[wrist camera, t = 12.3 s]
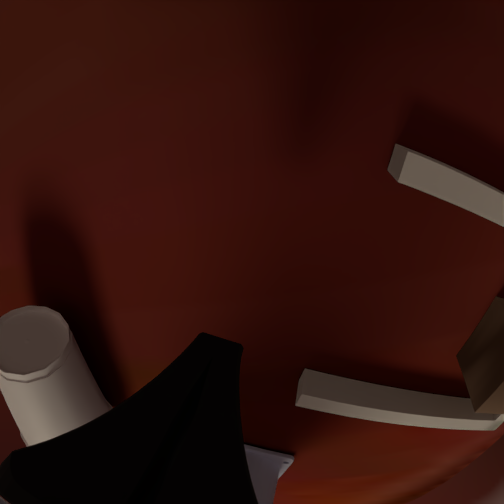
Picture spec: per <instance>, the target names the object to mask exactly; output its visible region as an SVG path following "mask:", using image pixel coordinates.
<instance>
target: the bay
mask: <svg viewBox="0 0 504 504" xmlns="http://www.w3.org/2000/svg"><path fill="white" fill-rule="evenodd" d="M387 170H388V172H389V173H390V174H391V175H392V176H393V177H394V178H395V179H396V181H397V182H399V183H402V184H404V185H407V186H410V187H412V188H415V189H418V190H420V191H423V192H425V193H428V194H430V195H433V196H435V197H438V198H440V199H443V200H445V201H448V202H450V203H452V204H455V205H457V206H459V207H462V208H464V209H466V210H468V211H471V212H473V213H475V214H477V215H480V216H482V217H484V218H486V219H488V220H490V221H492V222H495V223H497V224H499V225H501V226H503V227H504V192H502V191H500V190H498V189H497V188H495V187H493V186H491V185H489V184H487V183H485V182H483V181H481V180H479V179H477V178H475V177H473V176H471V175H469V174H467V173H465V172H462V171H460V170H458V169H456V168H454V167H452V166H449V165H447V164H445V163H443V162H440V161H438V160H436V159H433V158H431V157H429V156H426V155H424V154H421V153H419V152H416V151H414V150H411V149H409V148H406V147H404V146H401V145H398V144H395V147H394V151H393V154H392V157H391V160H390V163H389V166H388V169H387ZM295 406H299V407H304V408H308V409H313V410H317V411H322V412H327V413H332V414H337V415H342V416H348V417H354V418H360V419H366V420H372V421H379V422H386V423H393V424H401V425H410V426H420V427H431V428H444V429H461V430H495V429H496V428H498V427H499V426H500V425H501V424H502V423H503V422H504V414H489V413H475V412H474V409H473V405H472V402H471V399H469V398H460V397H452V396H444V395H437V394H430V393H424V392H417V391H411V390H405V389H399V388H394V387H388V386H383V385H378V384H372V383H367V382H362V381H358V380H353V379H348V378H344V377H339V376H335V375H330V374H326V373H322V372H318V371H314V370H309V369H304V371H303V373H302V375H301V377H300V379H299V383H298V390H297V397H296V404H295Z"/></svg>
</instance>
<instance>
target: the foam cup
mask: <svg viewBox="0 0 504 504" xmlns="http://www.w3.org/2000/svg"><path fill="white" fill-rule="evenodd" d="M0 389H1V391H2V394H3V396H4V398H5V401H6V403H7V405H8V407H9V409H10V411H11V413H12V416H13V418H14V420H15V422H16V424H17V426H18V427H19V429H20V432H21V437H22V439H23V441H24V442H25V444H26V446H27V447H28V446H31V445H35V444H38V443H41V442H44V441H47V440H50V439H52V438H55V437H57V436H59V435H62V434H64V433H67V432H69V431H71V430H73V429H76V428H78V427H80V426H82V425H84V424H86V423H88V422H90V421H92V420H94V419H95V418H97V417H99V416H101V415H103V414H104V413H106V412H108V411H109V410H111V409H113V408H112V406H111V405H110V404H109V402H108V401H107V400H106V399H105V397H104V396H103V394H102V392H101V390H100V388H99V386H98V385H97V383H96V381H95V379H94V377H93V375H92V373H91V371H90V369H89V367H88V365H87V363H86V361H85V359H84V357H83V355H82V353H81V351H80V349H79V347H78V345H77V342H76V340H75V338H74V336H73V334H72V331H71V330H70V329H69V325H68V324H67V322H66V321H65V320H64V318H63V317H62V315H61V314H60V313H58V312H56V311H54V310H52V309H50V308H48V307H44V306H26V307H22V308H18V309H14V310H11V311H10V312H8V313H7V314H5V315H4V316H2V317H1V318H0Z"/></svg>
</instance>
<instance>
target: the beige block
mask: <svg viewBox="0 0 504 504" xmlns="http://www.w3.org/2000/svg"><path fill="white" fill-rule="evenodd" d="M457 359H458V362H459V365H460V368H461V371H462V373H463V376H464V379H465V383H466V386H467V389H468V392H469V395H470V399H471V402H472V405H473V409H474V412H475V413H489V414H504V299H503V298H500V297H497V296H496V297H495V299H494V300H493V302H492V304H491V305H490V307H489V309H488V310H487V312H486V313H485V315H484V317H483V318H482V320H481V321H480V323H479V324H478V326H477V327H476V329H475V330H474V332H473V333H472V335H471V336H470V337H469V339H468V340H467V342H466V343H465V345H464V346H463V347H462V349H461V350H460V351H459V353H458V354H457Z"/></svg>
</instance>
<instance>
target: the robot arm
mask: <svg viewBox="0 0 504 504" xmlns="http://www.w3.org/2000/svg"><path fill="white" fill-rule="evenodd" d="M242 352H243V346H242V345H241V344H239V343H236V342H232V341H229V340H226V339H223V338H219V337H216V336H213V335H210V334H207V333H204V332H202V333H200V334H199V335H198V336H197V337H196V338H195V339H194V341H193V342H192V343H191V344H190V345H189V346H188V347H187V348H186V349H185V350H184V351H183V352H182V353H181V354H180V355H179V356H178V357H177V358H176V359H175V360H174V361H173V362H172V363H171V364H170V365H169V366H168V367H167V368H166V369H164V370H163V371H162V372H161V373H160V374H159V375H158V376H157V377H155V378H154V379H153V380H152V381H150V382H149V383H148V384H147V385H145V386H144V387H143V388H141V389H140V390H139V391H138V392H136V393H135V394H134V395H132V396H131V397H129V398H128V399H126V400H125V401H124V402H122V403H121V404H119V405H117V406H116V407H114V408H113V409H111V410H109V411H108V412H106V413H104V414H103V415H101V416H99V417H97V418H95V419H94V420H92V421H90V422H88V423H86V424H84V425H82V426H80V427H78V428H76V429H73V430H71V431H69V432H67V433H64V434H62V435H59V436H57V437H55V438H52V439H50V440H47V441H44V442H41V443H38V444H35V445H31V446H28V447H25V448H21V449H18V450H14V451H12V452H11V454H10V455H9V456H8V457H7V458H6V459H5V460H4V461H3V462H2V464H1V465H0V495H1V496H2V497H3V498H4V499H6V500H7V501H8V502H9V503H11V504H273V500H274V495H275V490H276V486H277V481H278V479H279V477H280V476H281V475H282V474H283V473H284V472H285V471H286V470H287V468H288V467H289V466H290V465H291V464H292V463H293V461H294V457H293V456H292V455H288V454H283V453H278V452H274V451H270V450H265V449H261V448H257V447H253V446H249V445H246V444H244V442H243V435H242V426H241V417H240V400H239V374H240V362H241V356H242ZM3 498H1V497H0V504H9V503H7V502H6V501H5V500H4V499H3Z"/></svg>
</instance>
